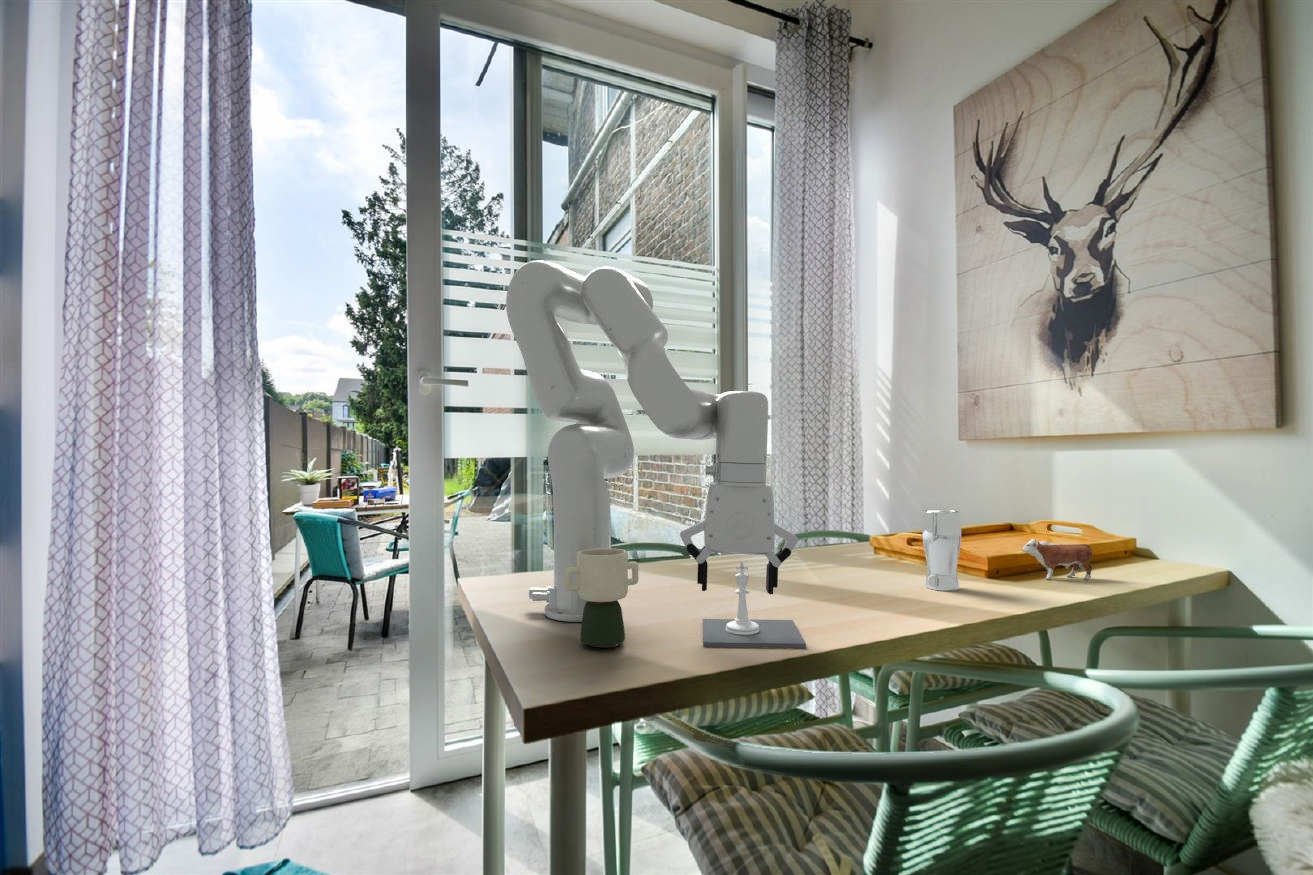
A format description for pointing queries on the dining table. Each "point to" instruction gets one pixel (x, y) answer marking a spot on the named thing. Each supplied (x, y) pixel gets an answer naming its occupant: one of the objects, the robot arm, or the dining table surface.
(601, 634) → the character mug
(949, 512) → the beer glass
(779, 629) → the mat
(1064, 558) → the bull figurine
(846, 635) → the dining table surface
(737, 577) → the chess piece
